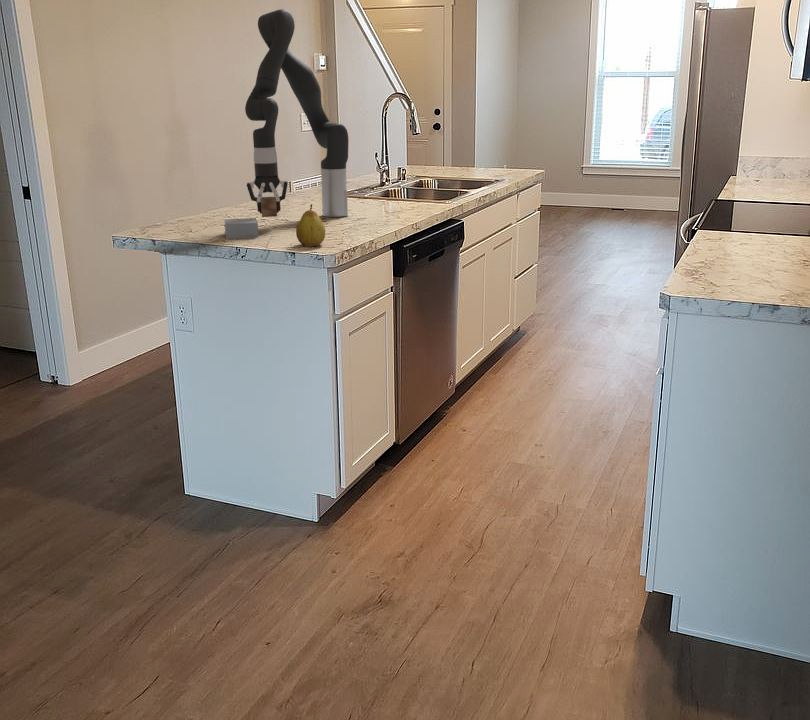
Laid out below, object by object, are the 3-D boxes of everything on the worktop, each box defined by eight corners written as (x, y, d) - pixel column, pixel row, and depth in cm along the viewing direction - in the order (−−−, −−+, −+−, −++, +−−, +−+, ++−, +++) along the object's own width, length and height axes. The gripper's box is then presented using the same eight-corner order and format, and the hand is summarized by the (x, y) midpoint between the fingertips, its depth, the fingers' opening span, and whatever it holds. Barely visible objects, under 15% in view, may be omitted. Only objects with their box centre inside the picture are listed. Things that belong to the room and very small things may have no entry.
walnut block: (277, 214, 285) (275, 196, 284) (277, 216, 281) (275, 198, 279) (262, 214, 285) (260, 197, 283) (261, 217, 280) (260, 199, 278)
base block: (256, 233, 277) (255, 218, 275) (258, 238, 268) (257, 222, 266) (225, 234, 275) (224, 219, 273) (226, 239, 265) (225, 223, 264)
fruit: (310, 249, 248) (309, 208, 244) (290, 245, 254) (288, 205, 250) (332, 245, 254) (330, 205, 250) (311, 241, 260) (310, 202, 256)
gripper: (287, 159, 281) (290, 210, 287) (244, 161, 280) (248, 212, 285) (287, 161, 274) (290, 213, 280) (243, 163, 273) (247, 215, 278)
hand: (269, 212), depth 282 cm, fingers closed on walnut block, 5 cm apart
